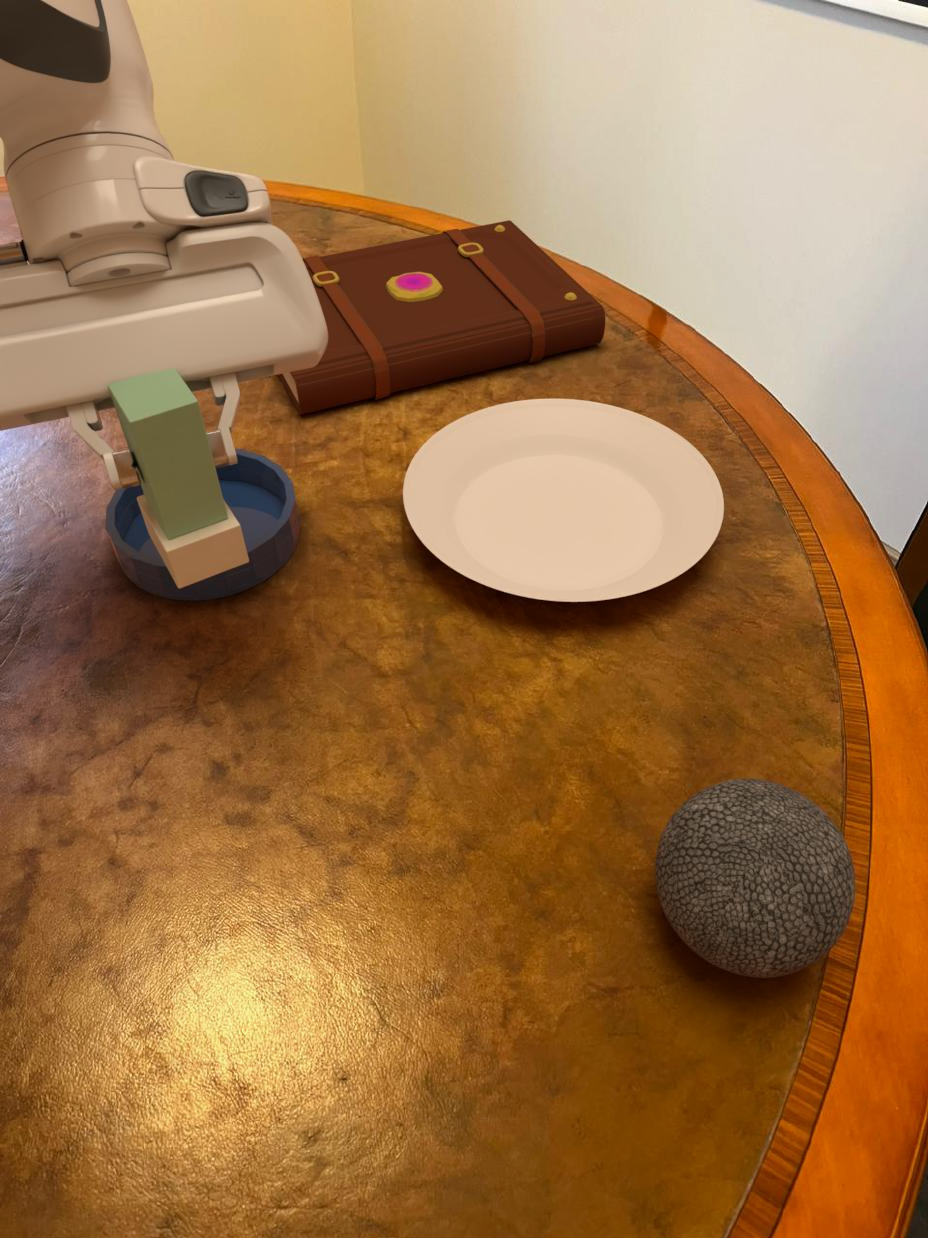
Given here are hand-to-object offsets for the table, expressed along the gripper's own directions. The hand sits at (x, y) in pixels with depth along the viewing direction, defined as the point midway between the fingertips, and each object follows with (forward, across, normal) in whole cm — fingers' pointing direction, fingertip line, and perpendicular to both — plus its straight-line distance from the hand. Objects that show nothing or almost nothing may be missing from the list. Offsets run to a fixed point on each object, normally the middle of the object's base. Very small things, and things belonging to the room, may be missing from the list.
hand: (177, 475), depth 52 cm
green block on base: (+4, 0, +5) cm, 6 cm away
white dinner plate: (+8, +28, +18) cm, 34 cm away
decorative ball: (+32, +23, -7) cm, 40 cm away
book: (-16, +27, +42) cm, 52 cm away
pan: (+2, +1, +24) cm, 24 cm away
